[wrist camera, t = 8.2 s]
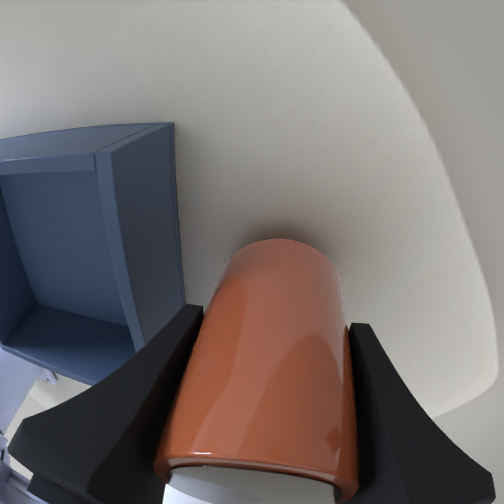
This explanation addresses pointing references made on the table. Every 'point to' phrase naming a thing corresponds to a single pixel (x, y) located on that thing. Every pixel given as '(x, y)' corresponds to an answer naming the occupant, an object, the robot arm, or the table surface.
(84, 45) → the table surface
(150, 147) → the tote
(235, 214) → the table surface
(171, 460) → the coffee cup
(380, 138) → the table surface
